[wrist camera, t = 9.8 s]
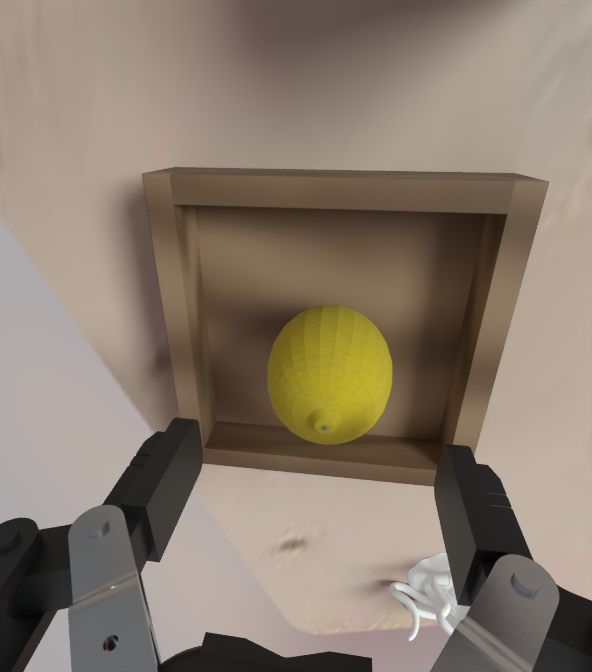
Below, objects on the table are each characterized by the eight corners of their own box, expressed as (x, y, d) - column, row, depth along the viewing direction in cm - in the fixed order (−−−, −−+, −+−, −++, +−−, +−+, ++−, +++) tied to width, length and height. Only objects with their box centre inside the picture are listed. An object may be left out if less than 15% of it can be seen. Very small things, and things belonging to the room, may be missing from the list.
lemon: (294, 379, 23) (269, 487, 16) (272, 291, 21) (231, 371, 14) (391, 368, 22) (409, 479, 15) (378, 273, 20) (393, 351, 13)
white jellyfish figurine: (376, 563, 32) (385, 715, 23) (536, 525, 28) (614, 691, 19) (421, 626, 35) (442, 780, 26) (571, 600, 31) (652, 771, 22)
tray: (174, 167, 20) (141, 173, 17) (515, 173, 18) (549, 181, 15) (205, 424, 27) (186, 461, 24) (450, 446, 25) (464, 489, 22)
